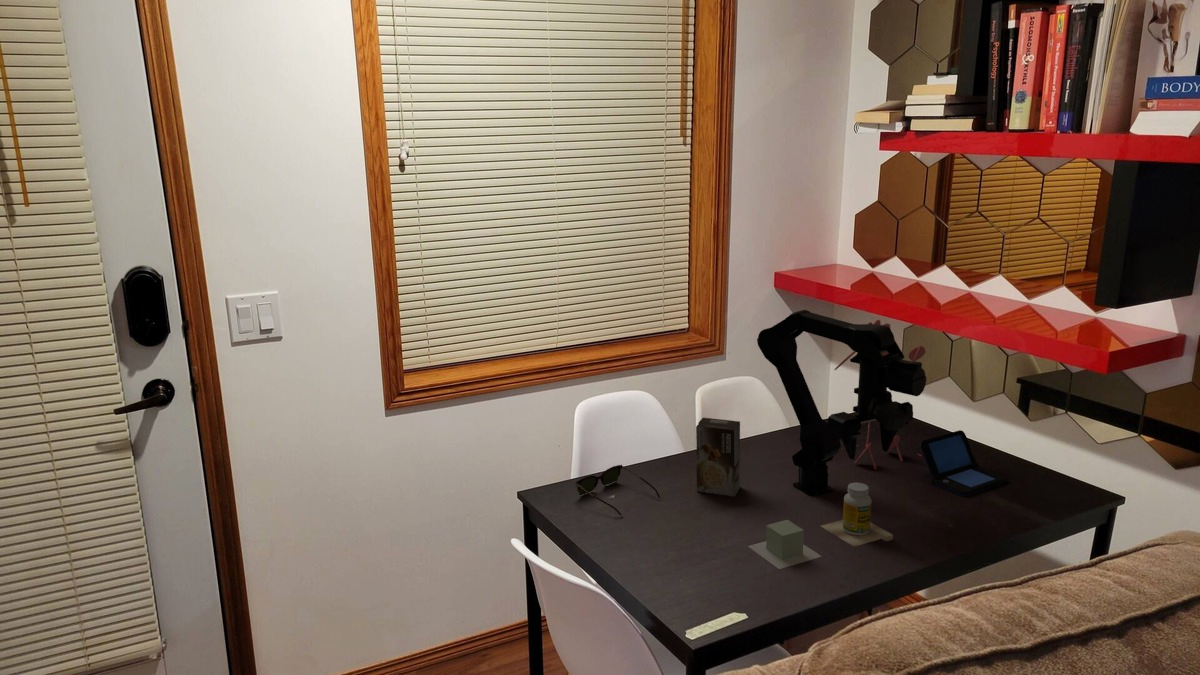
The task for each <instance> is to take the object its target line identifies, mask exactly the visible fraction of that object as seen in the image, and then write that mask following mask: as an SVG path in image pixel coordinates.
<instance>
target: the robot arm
mask: <svg viewBox="0 0 1200 675" xmlns="http://www.w3.org/2000/svg"><path fill="white" fill-rule="evenodd" d="M803 332H805V333H808V334H811V335H815V336H819V337H822V338H824V339H828V340H833V341H836V342H839V343H842V344H844V345H846V346H847V347H848V348H850V350H852V352H854V351H855V354H854V356H852V357H850V358H849V362H851V363H854V364H859V366H858V367H859V368H858V370H859V371H858V385H857V386H858V387H855V388H853V393H854V394H856V395H857V405H855V406H852V412H854V413H856V415H855V414H854V415H852V414H850V413H848V412H845V411H842V412H836V413H831V414H830V415H829V416H827V422H826V420H824V419H823V417H822V416H821V414H820V412H819V409H818V407H817V405H816V402H815V400H814V398H813V396H812V393H811V391H810V389H809V386H808V383H807V381H806V378H805V376H804V374H803V372H802V370H801V367H800V364H799V363H798V359H797V354H798V344H797V338H798V337H799V336H801V334H803ZM756 341H757V342H756V343H757V346H758V349H760V351H761V353H762V355H763V356H764V358H765V359H766V361H768V362H769V363H771V364H772V366H774V367H775V369H776V370H777V374H778V375H779V377H780V378H779V379H780V380H781V382H782V385H783V388H784V390H785V391H786V395H787V396H788V399H789V401H790V405H791V406H792V409H793V411H794V413H795V416H796V419H797V420H798V422H799V426H800V431H799V442H800V446H801V449H800V450H798V451H797V452H796V453H794V454H793V455H792V456H791V459H792V462H793V464H794V466H796V467H798V476H797V477H798V480H797V481H795V482H793V483H792V486H793V487H795V488H797V489H798V490H800V491H801V492H803V493H805V494H806V495H809V496H814V495H817V494H822V493H825V492H826V493H827V492H828V491H832V490H833V487H832V486H830V485H829V473H828V471H829V470H828V467H829V466H828V465H827V463H828V462H831V461H833V459H834V458H835V456H836V455H838V453H839V452H840V451H841V450H840V449H841V448H842V447H841V446H842V445H841V442H842V443H843V446H844V449H845V452H846V454H847V456H848V458H849V459H850V460H852V461H853V460H855V459H856V458H855V457H856V449H857V446H856V445H857V440H858V438H859V436H861V435H862V433H861V432H860V430H861V429H862V425H863V424H867V423H869V422H870V423H871V422H875V421H876V422H878V423H879V432H880V442H881V448H882V451H883V452H884V453H887V452H888V450H889V447H890V445H891V443H892V441H893V439H894V436H896V434H897V432H898V431H899V429H903V428H905V426H906V425H908V424H909V422H910V421H911V422H912V421H914V409H913V408H914V406H913V404H911V402H909V401H905V402H902V403H901V402H898V401H897V400H896V401H895V400H894V401H893V395H892V392H895V393H896V392H897V393H900V394H905V395H907V396H908V395H910V396H912V397H919V396H920V395H921V394H923V392H924V390H925V388H926V383H927V376H926V371H925V369H923V363H922V362H921V361H917V360H916V361H914V362H912V361H911V360H906V359H905V354H903V352H902V350H901V348H900V346H899V345H898V343H897V341H896V339H895V336H894V333H893V331H892V329H891V327H890V328H889V327H887V326H885V325H884V324H881V325H876V324H874V323H872V324H868V323H862V324H860V323H852V322H847V321H843V320H841V319H836V318H832V317H829V316H825V315H822V314H818V313H813V312H811V311H809V310H807V309H801V310H799V311H794V312H792V313H791V314H789V316H787V317H785V318H784V319H783V320H781V321H780V322H777V323H776V324H774V325H773V326H771V327H767V328H764V329H762V330H761V331H760V332H759V333H758V337H757V339H756ZM884 352H888V353H889V354H887V355H884V356H882V355H881V354H882V353H884ZM891 391H892V392H891Z"/></svg>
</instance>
